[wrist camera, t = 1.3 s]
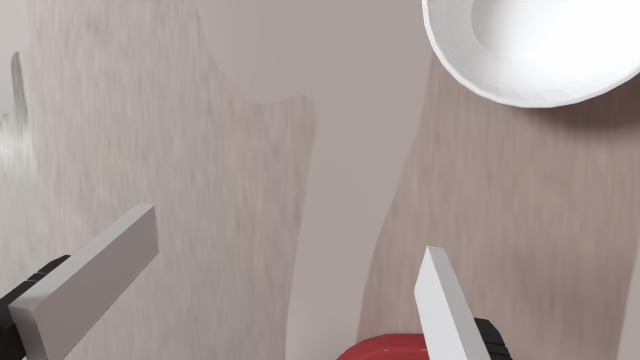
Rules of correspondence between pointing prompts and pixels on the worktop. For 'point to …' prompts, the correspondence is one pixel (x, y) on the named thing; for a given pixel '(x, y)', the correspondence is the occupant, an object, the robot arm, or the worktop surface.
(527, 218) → the worktop surface
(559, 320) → the worktop surface
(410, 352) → the stand mixer
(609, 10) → the bowl
